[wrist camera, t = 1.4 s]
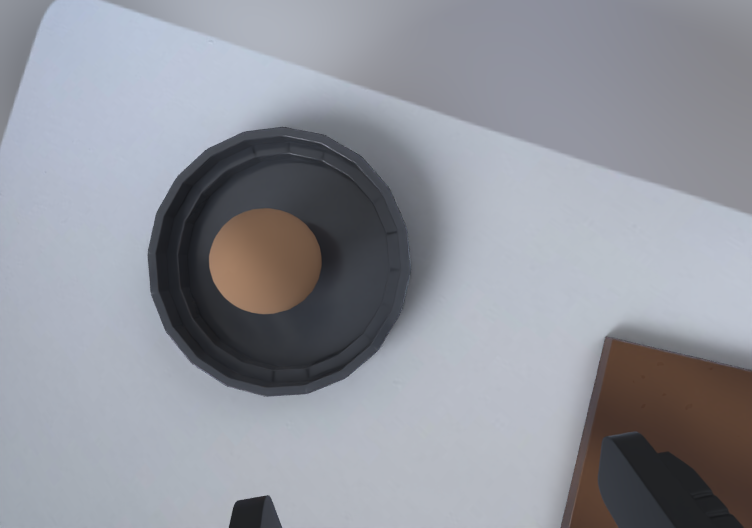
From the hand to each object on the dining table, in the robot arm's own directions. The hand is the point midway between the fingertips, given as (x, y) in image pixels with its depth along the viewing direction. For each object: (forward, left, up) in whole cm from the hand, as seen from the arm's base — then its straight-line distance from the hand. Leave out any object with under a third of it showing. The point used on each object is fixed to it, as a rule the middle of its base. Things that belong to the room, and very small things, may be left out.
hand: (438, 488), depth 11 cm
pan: (-3, -11, -20) cm, 23 cm away
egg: (-3, -11, -20) cm, 23 cm away
